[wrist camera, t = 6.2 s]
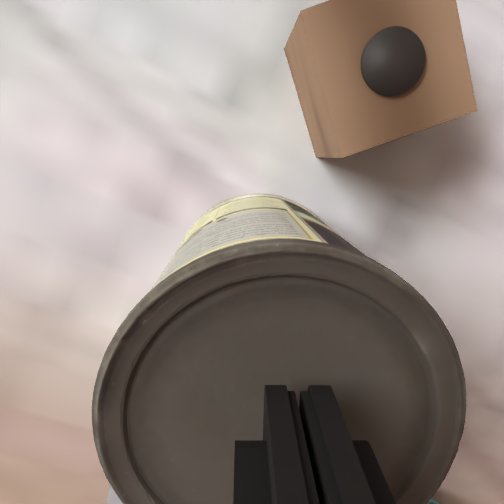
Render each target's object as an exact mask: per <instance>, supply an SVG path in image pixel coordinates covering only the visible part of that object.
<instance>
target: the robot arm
mask: <svg viewBox="0 0 504 504" xmlns="http://www.w3.org/2000/svg"><path fill="white" fill-rule="evenodd" d="M233 504H396V502H395V500H394V498H393V495H392V493H391V491H390V489H389V486H388V484H387V482H386V479H385V477H384V475H383V472H382V470H381V468H380V466H379V463H378V461H377V459H376V456H375V454H374V452H373V449H372V447H371V445H370V444H369V442H368V441H366V440H351V437H350V434H349V432H348V429H347V427H346V424H345V421H344V419H343V416H342V413H341V411H340V408H339V405H338V403H337V400H336V397H335V395H334V392H333V389H332V387H331V385H309V386H308V390H307V391H301V392H300V402H299V408H298V403H297V399H296V394H295V391H287V386H286V385H265V387H264V415H263V440H235V452H234V494H233Z"/></svg>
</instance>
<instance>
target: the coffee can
mask: <svg viewBox="0 0 504 504" xmlns="http://www.w3.org/2000/svg"><path fill="white" fill-rule="evenodd" d="M265 385H286V386H287V391H295V394H296V399H297V403H298V408H299V402H300V392H301V391H307V390H308V386H309V385H331V387H332V389H333V392H334V395H335V397H336V400H337V403H338V405H339V408H340V411H341V413H342V416H343V419H344V421H345V424H346V427H347V429H348V432H349V434H350V437H351V440H366V441H368V442H369V444H370V445H371V447H372V449H373V452H374V454H375V456H376V459H377V461H378V463H379V466H380V468H381V470H382V472H383V475H384V477H385V479H386V482H387V484H388V486H389V489H390V491H391V493H392V495H393V498H394V500H395V502H396V504H427V503H428V502H429V500H430V499H431V498H432V496H433V495H434V494H435V492H436V491H437V490H438V488H439V487H440V485H441V483H442V482H443V480H444V479H445V477H446V475H447V473H448V471H449V469H450V467H451V465H452V462H453V460H454V458H455V456H456V453H457V451H458V446H459V442H460V440H461V437H462V434H463V429H464V423H465V412H466V387H465V378H464V373H463V369H462V365H461V362H460V358H459V355H458V351H457V349H456V346H455V343H454V341H453V338H452V337H451V335H450V333H449V331H448V330H447V328H446V326H445V325H444V323H443V321H442V320H441V318H440V317H439V315H438V314H437V312H436V311H435V310H434V309H433V308H432V306H431V305H430V304H429V303H428V302H427V301H426V299H425V298H424V297H423V296H422V295H421V294H419V293H418V292H417V291H416V290H415V289H414V288H413V287H412V286H411V285H410V284H409V283H407V282H406V281H405V280H403V279H402V278H401V277H400V276H398V275H397V274H396V273H394V272H393V271H391V270H390V269H388V268H386V267H385V266H383V265H381V264H380V263H378V262H376V261H375V260H373V259H371V258H368V257H366V256H365V255H364V254H363V253H361V252H360V251H359V250H357V249H356V248H355V247H353V246H352V245H351V244H350V243H348V242H347V241H345V240H344V239H343V238H341V237H340V236H339V235H338V234H336V233H335V232H334V231H333V230H331V229H330V228H329V227H328V226H326V225H325V224H324V223H323V222H322V221H320V219H319V218H318V217H317V216H315V215H314V214H313V213H312V212H310V211H309V210H308V209H306V208H305V207H303V206H302V205H300V204H298V203H296V202H294V201H291V200H289V199H286V198H283V197H280V196H275V195H268V194H250V195H244V196H239V197H235V198H232V199H229V200H226V201H224V202H222V203H220V204H218V205H215V206H214V207H212V208H211V209H209V210H208V211H207V212H205V213H204V214H203V215H202V216H201V217H200V218H199V219H198V220H197V221H196V222H195V223H194V224H193V225H192V227H191V228H190V229H189V230H188V232H187V233H186V235H185V237H184V239H183V241H182V243H181V245H180V247H179V248H178V250H177V251H176V253H175V254H174V256H173V257H172V259H171V260H170V262H169V263H168V265H167V267H166V268H165V270H164V271H163V272H162V274H161V275H160V277H159V278H158V280H157V281H156V283H155V285H154V286H153V288H152V289H151V291H150V292H149V293H148V294H147V295H146V296H145V297H144V298H143V299H142V300H141V301H140V302H139V303H138V304H137V305H136V306H135V307H134V308H133V310H132V311H131V312H130V313H129V314H128V316H127V317H126V319H125V320H124V321H123V323H122V324H121V325H120V327H119V328H118V330H117V332H116V334H115V335H114V337H113V339H112V341H111V342H110V344H109V346H108V348H107V350H106V352H105V354H104V357H103V360H102V363H101V365H100V368H99V371H98V375H97V379H96V382H95V386H94V392H93V401H92V425H93V435H94V441H95V446H96V450H97V453H98V457H99V460H100V463H101V466H102V468H103V471H104V473H105V475H106V478H107V479H108V481H109V483H110V485H111V486H112V488H113V490H114V491H115V493H116V494H117V496H118V497H119V499H120V500H121V501H122V503H123V504H233V494H234V452H235V440H263V415H264V387H265Z"/></svg>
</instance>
